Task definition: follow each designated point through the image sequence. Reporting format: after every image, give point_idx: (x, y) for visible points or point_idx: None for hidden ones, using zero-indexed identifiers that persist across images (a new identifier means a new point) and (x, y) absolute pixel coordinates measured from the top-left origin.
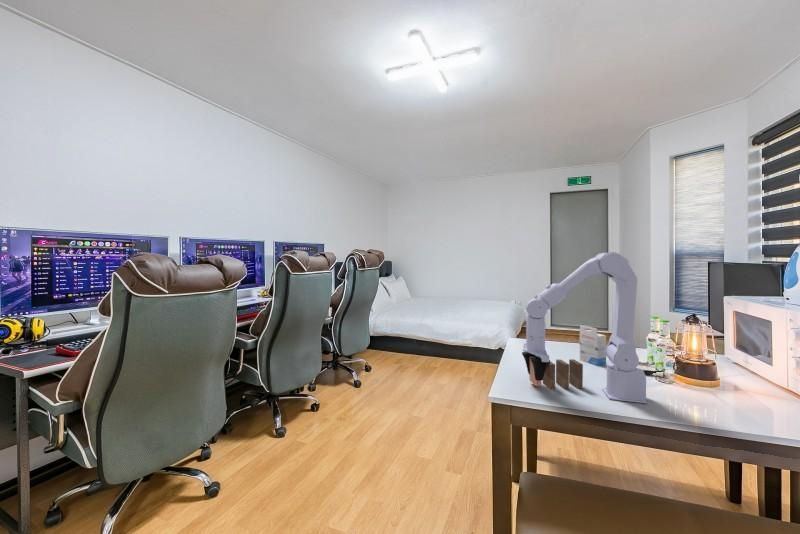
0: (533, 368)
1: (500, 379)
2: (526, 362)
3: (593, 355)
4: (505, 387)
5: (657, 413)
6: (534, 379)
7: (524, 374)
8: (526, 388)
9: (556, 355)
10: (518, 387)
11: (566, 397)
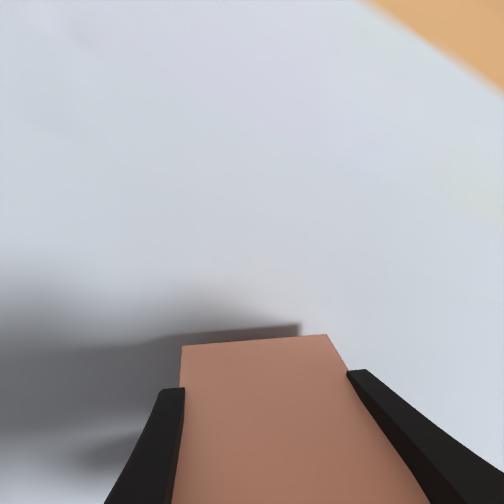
0: (273, 495)
1: (455, 65)
2: (473, 484)
3: None
4: (227, 24)
5: None
6: (222, 379)
7: (494, 339)
8: (201, 254)
9: None
10: (226, 185)
11: (37, 476)
